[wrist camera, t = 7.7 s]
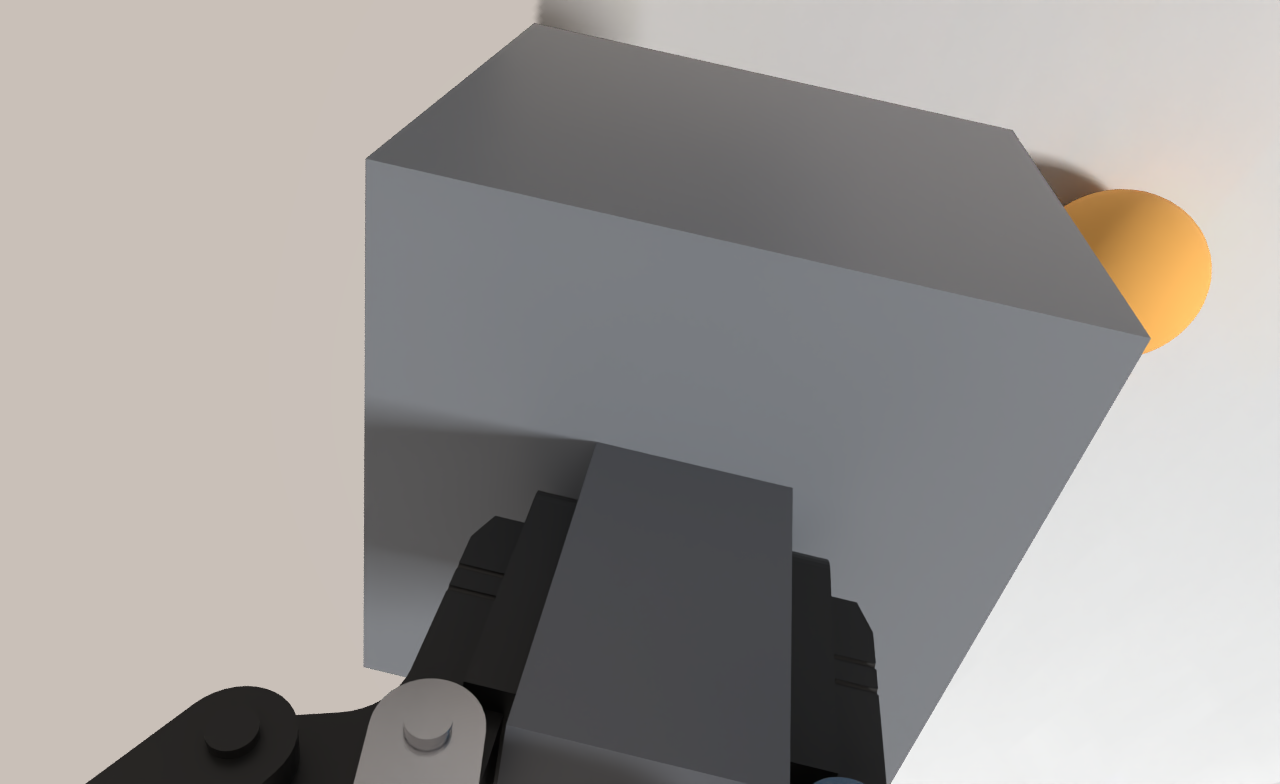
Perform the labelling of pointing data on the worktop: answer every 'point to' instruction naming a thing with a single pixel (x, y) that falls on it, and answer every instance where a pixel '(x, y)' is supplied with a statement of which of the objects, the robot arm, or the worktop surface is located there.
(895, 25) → the worktop surface
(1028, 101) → the worktop surface
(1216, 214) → the worktop surface
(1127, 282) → the ball
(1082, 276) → the gray block with peg
